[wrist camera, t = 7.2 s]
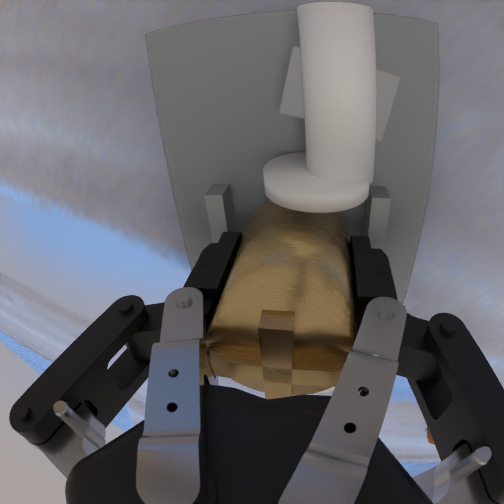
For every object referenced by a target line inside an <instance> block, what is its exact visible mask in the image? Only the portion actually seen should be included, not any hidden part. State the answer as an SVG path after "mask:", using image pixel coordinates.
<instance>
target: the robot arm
mask: <svg viewBox="0 0 504 504" xmlns="http://www.w3.org/2000/svg"><path fill="white" fill-rule="evenodd" d="M242 239H243V234H242V232H223V233H222V235H221V237H220V239H219V241H218V243H210V244H209V245H208V246H207V247H206V248H204V249H203V250H202V252H201V254H200V256H199V258H198V260H197V262H196V264H195V266H194V267H193V269H192V271H191V273H190V275H189V277H188V279H187V281H186V283H185V285H184V287H183V288H180V289H177V290H175V291H173V292H171V293H170V294H169V295H168V296H167V298H166V300H165V302H163V303H159V304H151V305H145V304H144V302H143V300H142V299H141V298H140V297H138V296H135V295H129V296H124V297H122V298H120V299H118V300H117V301H115V302H114V303H113V304H112V305H111V306H110V307H109V308H108V309H107V310H106V311H105V312H104V313H103V314H102V315H101V316H99V317H98V318H97V319H96V320H95V321H94V322H93V323H92V324H91V325H90V326H89V327H88V328H87V329H86V330H85V331H84V332H83V333H82V334H81V335H80V336H79V337H78V338H77V339H76V340H75V341H74V342H73V343H72V344H71V345H70V346H69V347H68V348H67V349H66V350H65V351H64V352H63V353H62V354H61V355H60V356H59V357H58V358H57V359H56V360H55V361H54V362H53V363H52V364H51V365H50V366H49V367H48V368H47V369H46V370H45V372H44V373H43V374H42V375H41V376H40V377H39V378H38V379H37V380H36V381H35V382H34V383H33V384H32V385H31V386H30V387H29V388H28V389H27V391H26V392H25V393H24V394H23V395H22V396H21V397H20V398H19V399H18V400H17V402H15V404H14V405H13V407H12V409H11V411H10V416H9V417H10V418H9V419H10V424H11V426H12V428H13V429H14V430H15V431H17V432H18V433H19V434H20V435H22V436H23V437H24V438H26V439H27V441H28V442H29V443H31V444H32V445H33V446H35V447H36V448H38V449H39V450H40V451H42V452H43V453H44V454H45V455H46V457H47V458H48V459H49V460H50V461H51V462H52V463H53V464H54V465H55V466H56V467H57V468H58V469H59V471H60V472H61V473H62V474H63V475H64V476H65V477H66V478H67V481H66V488H65V494H66V502H67V504H504V389H503V387H502V385H501V383H500V382H499V380H498V378H497V376H496V375H495V373H494V371H493V370H492V368H491V366H490V364H489V363H488V361H487V359H486V358H485V356H484V355H483V353H482V351H481V350H480V348H479V347H478V345H477V343H476V342H475V340H474V339H473V337H472V336H471V334H470V332H469V331H468V329H467V328H466V326H465V325H464V323H463V322H462V321H461V320H460V319H459V318H458V317H456V316H454V315H452V314H449V313H438V314H436V315H434V316H433V317H432V318H431V319H430V321H427V320H423V319H419V318H416V317H413V316H411V315H409V314H408V313H406V309H405V307H404V306H403V305H402V303H400V302H399V301H398V298H397V294H396V289H395V285H394V280H393V276H392V272H391V267H390V263H389V259H388V256H387V255H386V254H385V253H384V252H383V251H382V249H375V248H371V244H370V239H369V236H360V235H351V236H350V252H351V262H352V272H353V284H354V297H355V311H356V328H357V337H356V340H355V342H354V345H353V348H352V349H351V350H350V352H349V354H348V357H347V359H346V362H345V364H344V367H343V369H342V372H341V375H340V377H339V380H338V382H337V384H336V387H335V389H334V392H333V394H332V396H320V395H296V396H289V397H282V398H275V399H264V398H261V397H258V396H256V395H253V394H250V393H247V392H244V391H242V390H239V389H236V388H231V387H224V386H219V385H218V376H214V375H213V372H212V369H211V366H210V363H209V360H208V356H207V349H206V335H207V331H208V329H209V326H210V323H211V321H212V318H213V315H214V313H215V310H216V307H217V305H218V302H219V299H220V297H221V294H222V292H223V289H224V286H225V284H226V281H227V278H228V276H229V273H230V270H231V268H232V265H233V263H234V260H235V257H236V255H237V252H238V250H239V247H240V244H241V242H242ZM124 345H126V346H127V349H126V350H125V351H124V352H123V353H122V354H121V356H120V357H119V358H118V359H117V360H116V361H115V362H114V363H113V364H112V365H111V366H110V368H109V369H108V370H107V366H108V363H109V361H110V360H111V359H112V358H113V357H114V356H115V354H116V353H117V352H118V351H119V350H120V349H121V348H122V347H123V346H124ZM396 375H399V376H403V377H406V378H407V379H408V382H409V384H410V386H411V389H412V391H413V393H414V395H415V398H416V400H417V402H418V405H419V407H420V409H421V412H422V414H423V416H424V419H425V421H426V424H427V426H428V428H429V431H430V433H431V436H432V438H433V441H434V443H435V446H436V448H437V451H438V454H439V456H440V459H441V463H440V464H439V465H438V466H437V468H436V471H435V474H434V483H435V493H434V497H433V499H432V500H430V499H429V498H428V496H427V495H426V494H425V493H424V492H423V491H422V489H421V488H420V487H419V486H418V485H417V483H416V482H415V481H414V480H413V478H412V477H411V476H410V475H409V474H408V472H407V471H406V470H405V469H404V468H403V466H402V465H401V464H400V463H399V462H398V460H397V459H396V458H395V457H394V455H393V454H392V453H391V452H390V451H389V449H388V448H387V447H386V446H385V444H384V443H383V442H382V441H381V440H380V438H379V437H378V436H379V433H380V430H381V427H382V424H383V420H384V417H385V414H386V410H387V407H388V404H389V400H390V396H391V393H392V389H393V385H394V381H395V377H396ZM147 378H148V387H147V397H146V408H145V420H143V421H142V422H140V423H139V424H137V425H136V426H134V427H132V428H131V429H129V430H128V431H126V432H125V433H123V434H122V435H120V436H119V437H117V438H115V439H114V440H112V441H111V442H109V443H108V444H106V441H105V439H104V438H105V428H106V427H107V426H108V425H109V423H110V422H111V421H112V420H113V419H114V417H115V416H116V415H117V414H118V413H119V411H120V410H121V409H122V408H123V407H124V406H125V404H126V403H127V402H128V401H129V400H130V398H131V397H132V396H133V395H134V394H135V392H136V391H137V390H138V389H139V388H140V386H141V385H142V384H143V383H144V382H145V380H146V379H147ZM105 444H106V445H105Z"/></svg>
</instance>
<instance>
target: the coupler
mask: <svg viewBox="0 0 504 504" xmlns="http://www.w3.org/2000/svg"><path fill="white" fill-rule="evenodd" d="M356 337H357V328H356V311H355V297H354V284H353V272H352V262H351V252H350V242H349V234H348V229H347V226H346V224H345V222H344V220H343V218H342V217H341V215H340V214H339V213H338V212H327V213H313V212H303V211H297V210H292V209H288V208H285V207H282V206H280V205H277V204H275V203H274V202H272V201H271V200H269V201H268V202H266V203H264V204H263V205H262V206H261V207H259V208H258V209H257V210H256V212H255V213H254V214H253V216H252V217H251V219H250V221H249V224H248V226H247V229H246V231H245V234H244V236H243V239H242V242H241V244H240V247H239V250H238V252H237V255H236V257H235V260H234V263H233V265H232V268H231V270H230V273H229V276H228V278H227V281H226V284H225V286H224V289H223V292H222V294H221V297H220V299H219V302H218V305H217V307H216V310H215V313H214V315H213V318H212V321H211V323H210V326H209V329H208V331H207V335H206V349H207V356H208V360H209V363H210V366H211V369H212V372H213V375H214V376H221V377H228V378H231V379H233V380H234V381H236V382H238V383H240V384H242V385H244V386H247V387H249V388H252V389H255V390H258V391H262V392H265V398H266V399H275V398H282V397H289V396H293V395H305V394H312V393H317V392H321V391H324V390H327V389H329V388H332V387H336V384H337V382H338V380H339V377H340V375H341V372H342V369H343V367H344V364H345V362H346V359H347V357H348V354H349V352H350V350H351V349H352V348H353V345H354V342H355V340H356Z"/></svg>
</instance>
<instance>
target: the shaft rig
mask: <svg viewBox="0 0 504 504" xmlns="http://www.w3.org/2000/svg"><path fill="white" fill-rule="evenodd" d="M145 36H146V44H147V51H148V58H149V65H150V72H151V78H152V84H153V91H154V97H155V102H156V108H157V114H158V120H159V125H160V130H161V136H162V141H163V146H164V151H165V156H166V161H167V166H168V171H169V176H170V181H171V185H172V190H173V195H174V199H175V204H176V208H177V212H178V217H179V221H180V225H181V230H182V234H183V238H184V242H185V246H186V250H187V254H188V258H189V262H190V266H191V270H192V269H193V267H194V266H195V264H196V262H197V260H198V258H199V256H200V254H201V252H202V250H203V249H204V248H206V247H207V246H208V245H209V244H210V243H218V241H219V239H220V237H221V235H222V233H223V232H242V234H243V236H244V234H245V231H246V229H247V226H248V224H249V221H250V219H251V217H252V216H253V214H254V213H255V212H256V210H257V209H258V208H259V207H261V206H262V205H263V204H264V203H266V202H268V201H269V200H271V201H272V202H274V203H275V204H277V205H280V206H282V207H285V208H288V209H292V210H297V211H303V212H313V213H327V212H338V213H339V214H340V215H341V217H342V218H343V220H344V222H345V224H346V226H347V229H348V234H349V242H350V236H351V235H360V236H369V239H370V244H371V248H375V249H382V251H383V252H384V253H385V254H386V255H387V256H388V259H389V263H390V267H391V272H392V276H393V280H394V285H395V289H396V294H397V298H398V301H399V302H400V303H402V305H403V301H404V298H405V294H406V291H407V287H408V284H409V280H410V276H411V272H412V269H413V265H414V261H415V256H416V252H417V248H418V243H419V239H420V234H421V230H422V225H423V220H424V215H425V209H426V204H427V198H428V192H429V185H430V179H431V172H432V164H433V156H434V147H435V137H436V126H437V112H438V92H439V41H438V23H436V22H431V21H426V20H421V19H415V18H409V17H402V16H395V15H387V14H378V13H373V8H371V7H369V6H366V5H361V4H355V3H347V2H315V3H307V4H302V5H299V6H297V11H278V12H264V13H253V14H244V15H235V16H228V17H221V18H215V19H209V20H203V21H198V22H192V23H188V24H183V25H178V26H174V27H169V28H165V29H161V30H157V31H153V32H150V33H146V34H145ZM334 389H335V387H332V388H329V389H327V390H324V391H321V392H317V393H327V392H330V391H332V390H334Z"/></svg>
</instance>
